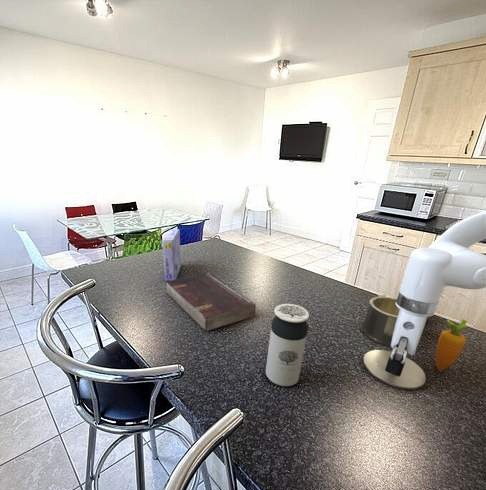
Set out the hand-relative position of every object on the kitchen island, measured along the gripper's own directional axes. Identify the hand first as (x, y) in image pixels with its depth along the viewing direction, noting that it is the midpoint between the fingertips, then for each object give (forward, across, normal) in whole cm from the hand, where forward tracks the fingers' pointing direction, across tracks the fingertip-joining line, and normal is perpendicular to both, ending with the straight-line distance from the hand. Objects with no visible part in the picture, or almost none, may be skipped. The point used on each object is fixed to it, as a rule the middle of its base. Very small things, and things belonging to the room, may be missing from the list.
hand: (395, 362), depth 73 cm
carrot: (+3, +8, -9) cm, 12 cm away
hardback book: (+3, -3, +57) cm, 57 cm away
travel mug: (+3, -19, +21) cm, 29 cm away
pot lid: (+2, 0, 0) cm, 2 cm away
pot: (+3, +17, +4) cm, 18 cm away
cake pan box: (+3, +9, +86) cm, 87 cm away
